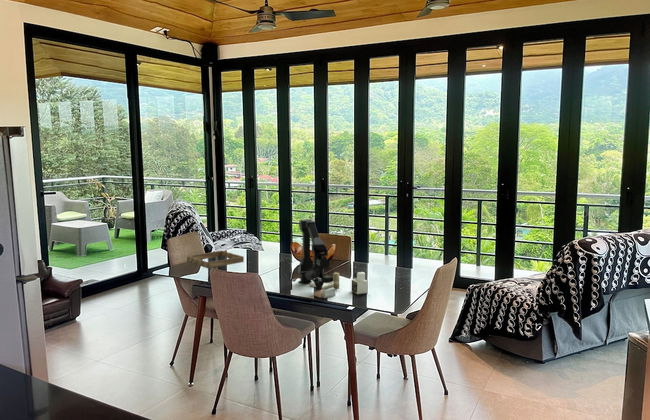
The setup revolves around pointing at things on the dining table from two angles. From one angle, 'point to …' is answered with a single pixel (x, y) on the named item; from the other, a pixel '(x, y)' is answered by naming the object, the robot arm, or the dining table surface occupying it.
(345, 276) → the dining table surface
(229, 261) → the frame
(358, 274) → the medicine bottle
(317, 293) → the peach rectangular block
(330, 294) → the grey sanding sponge
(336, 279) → the dowel
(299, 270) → the robot arm
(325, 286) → the tray
